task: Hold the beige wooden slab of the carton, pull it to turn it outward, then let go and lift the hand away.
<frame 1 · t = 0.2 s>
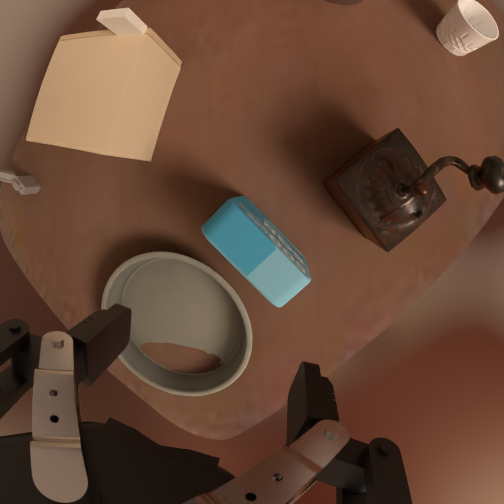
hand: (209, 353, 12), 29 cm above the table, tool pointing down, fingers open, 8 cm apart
carton: (122, 106, 38), on the table
lighter: (31, 180, 43), on the table
beige wooden slab: (111, 41, 28), point 9 cm above the table, hinge at 0.0°, touching carton
data package: (263, 236, 41), on the table
pepper mill: (385, 180, 37), on the table
cake pan: (179, 320, 45), on the table
white cup: (451, 40, 29), on the table
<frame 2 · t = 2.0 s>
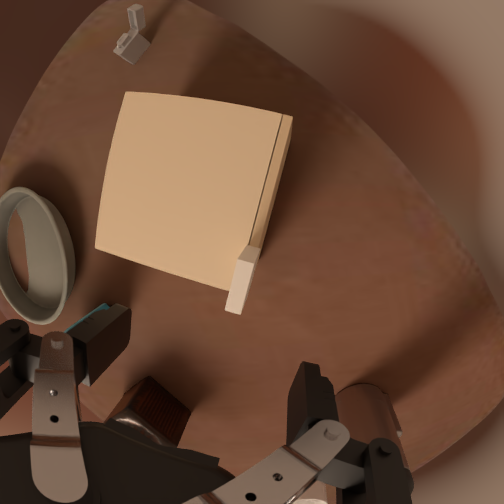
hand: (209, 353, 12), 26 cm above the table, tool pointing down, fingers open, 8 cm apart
carton: (209, 184, 36), on the table
lighter: (145, 45, 33), on the table
beige wooden slab: (266, 204, 27), point 9 cm above the table, hinge at 0.0°, touching carton
pepper mill: (165, 413, 46), on the table
cake pan: (37, 252, 43), on the table
white cup: (306, 469, 46), on the table
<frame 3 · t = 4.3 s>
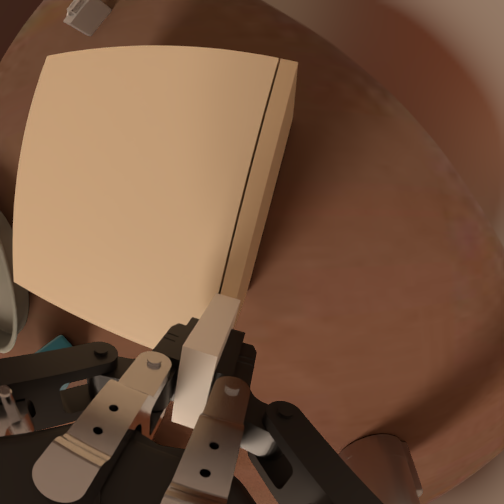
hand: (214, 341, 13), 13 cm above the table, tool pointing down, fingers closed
carton: (176, 184, 25), on the table
lighter: (106, 12, 21), on the table
beige wooden slab: (254, 217, 16), point 9 cm above the table, hinge at 0.0°, touching carton, gripper
data package: (64, 363, 32), on the table
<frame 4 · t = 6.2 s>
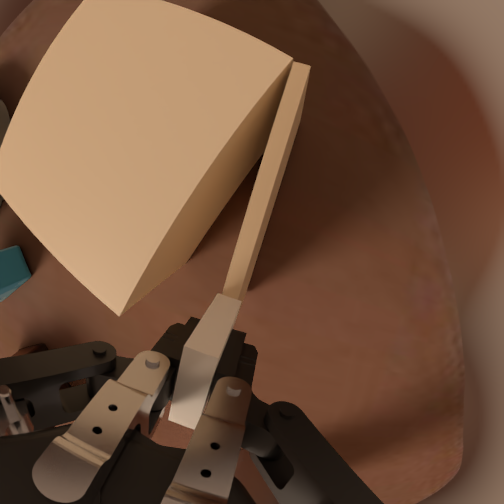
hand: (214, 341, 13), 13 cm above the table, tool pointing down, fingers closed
carton: (168, 143, 24), on the table
beige wooden slab: (258, 218, 16), point 9 cm above the table, hinge at 18.9°, touching gripper
data package: (12, 274, 31), on the table
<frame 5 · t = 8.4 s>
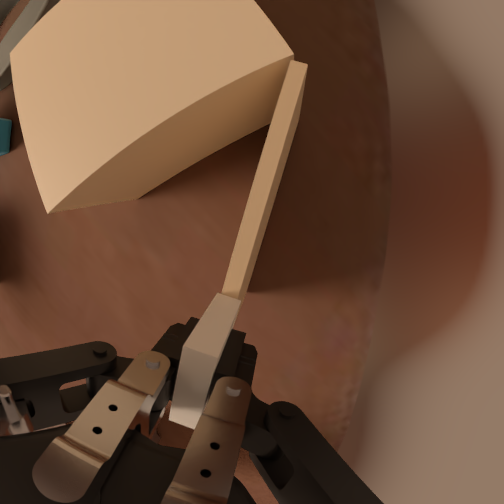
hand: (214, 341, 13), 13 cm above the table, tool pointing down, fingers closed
carton: (173, 88, 23), on the table
beige wooden slab: (257, 218, 16), point 9 cm above the table, hinge at 46.7°, touching gripper
cake pan: (18, 33, 23), on the table
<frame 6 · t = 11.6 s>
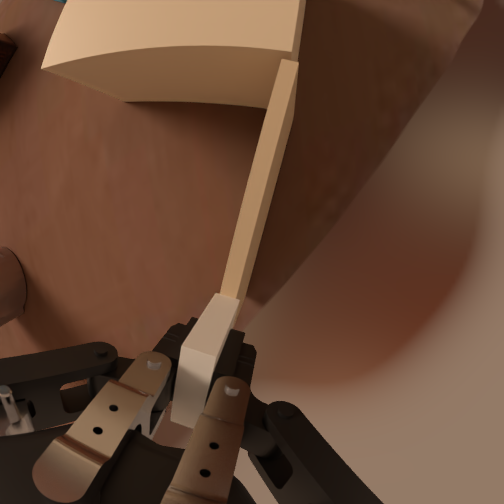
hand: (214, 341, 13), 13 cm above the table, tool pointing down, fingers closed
carton: (214, 33, 21), on the table
beige wooden slab: (253, 217, 16), point 9 cm above the table, hinge at 84.5°, touching gripper
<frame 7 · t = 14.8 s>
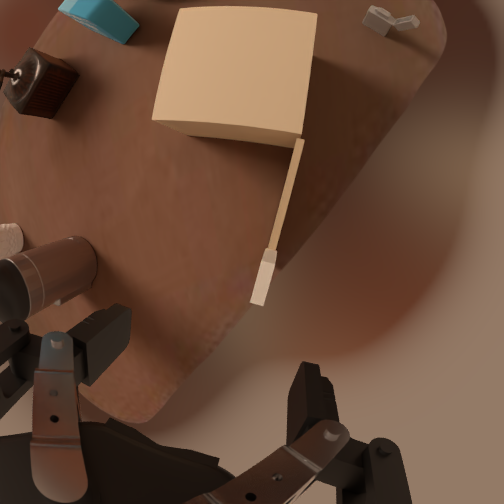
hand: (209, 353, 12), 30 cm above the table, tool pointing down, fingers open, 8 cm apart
carton: (249, 91, 37), on the table
lighter: (383, 32, 32), on the table
beige wooden slab: (281, 213, 32), point 9 cm above the table, hinge at 84.7°
data package: (115, 28, 36), on the table
pepper mill: (48, 97, 41), on the table
white cup: (16, 237, 48), on the table
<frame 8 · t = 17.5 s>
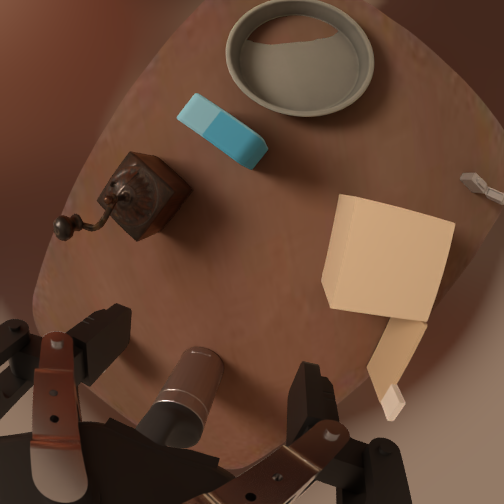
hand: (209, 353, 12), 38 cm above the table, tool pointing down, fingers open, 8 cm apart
carton: (373, 247, 48), on the table
lighter: (471, 187, 43), on the table
beige wooden slab: (397, 357, 43), point 9 cm above the table, hinge at 84.7°
data package: (233, 139, 47), on the table
pepper mill: (148, 203, 51), on the table
cake pan: (300, 59, 42), on the table
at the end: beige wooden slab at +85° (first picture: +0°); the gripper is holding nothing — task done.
